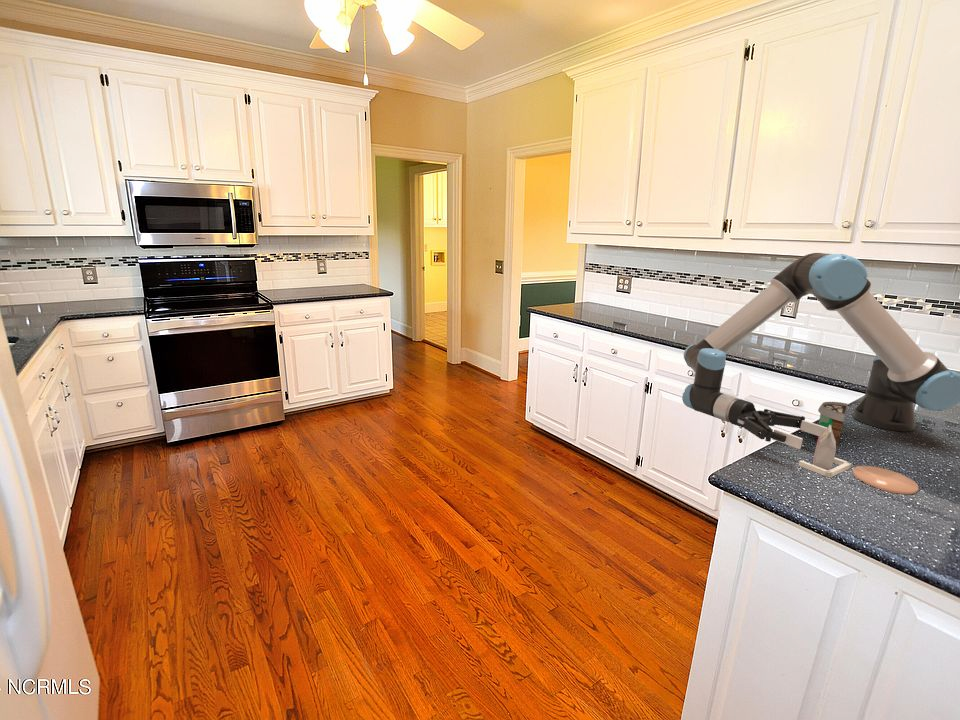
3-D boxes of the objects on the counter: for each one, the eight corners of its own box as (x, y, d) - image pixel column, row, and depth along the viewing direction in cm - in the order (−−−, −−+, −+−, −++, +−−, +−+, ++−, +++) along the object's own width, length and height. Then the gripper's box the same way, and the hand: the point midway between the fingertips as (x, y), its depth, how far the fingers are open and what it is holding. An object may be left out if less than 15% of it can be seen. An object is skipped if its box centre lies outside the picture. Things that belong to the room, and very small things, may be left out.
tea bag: (830, 463, 122) (839, 426, 119) (830, 473, 117) (839, 435, 114) (813, 458, 124) (821, 422, 121) (812, 468, 119) (821, 430, 116)
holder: (820, 456, 125) (821, 452, 125) (850, 467, 120) (852, 463, 119) (798, 465, 120) (799, 461, 119) (829, 477, 114) (830, 473, 114)
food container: (814, 429, 143) (821, 398, 141) (839, 435, 140) (847, 403, 137) (809, 442, 134) (817, 408, 132) (836, 449, 130) (845, 414, 128)
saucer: (865, 464, 122) (866, 461, 121) (926, 486, 112) (926, 483, 112) (843, 475, 115) (843, 472, 115) (905, 499, 106) (906, 496, 105)
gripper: (757, 416, 145) (835, 443, 128) (705, 430, 133) (785, 462, 115) (761, 392, 143) (842, 416, 126) (710, 405, 131) (791, 433, 113)
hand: (815, 438), depth 120 cm, fingers open, 13 cm apart
